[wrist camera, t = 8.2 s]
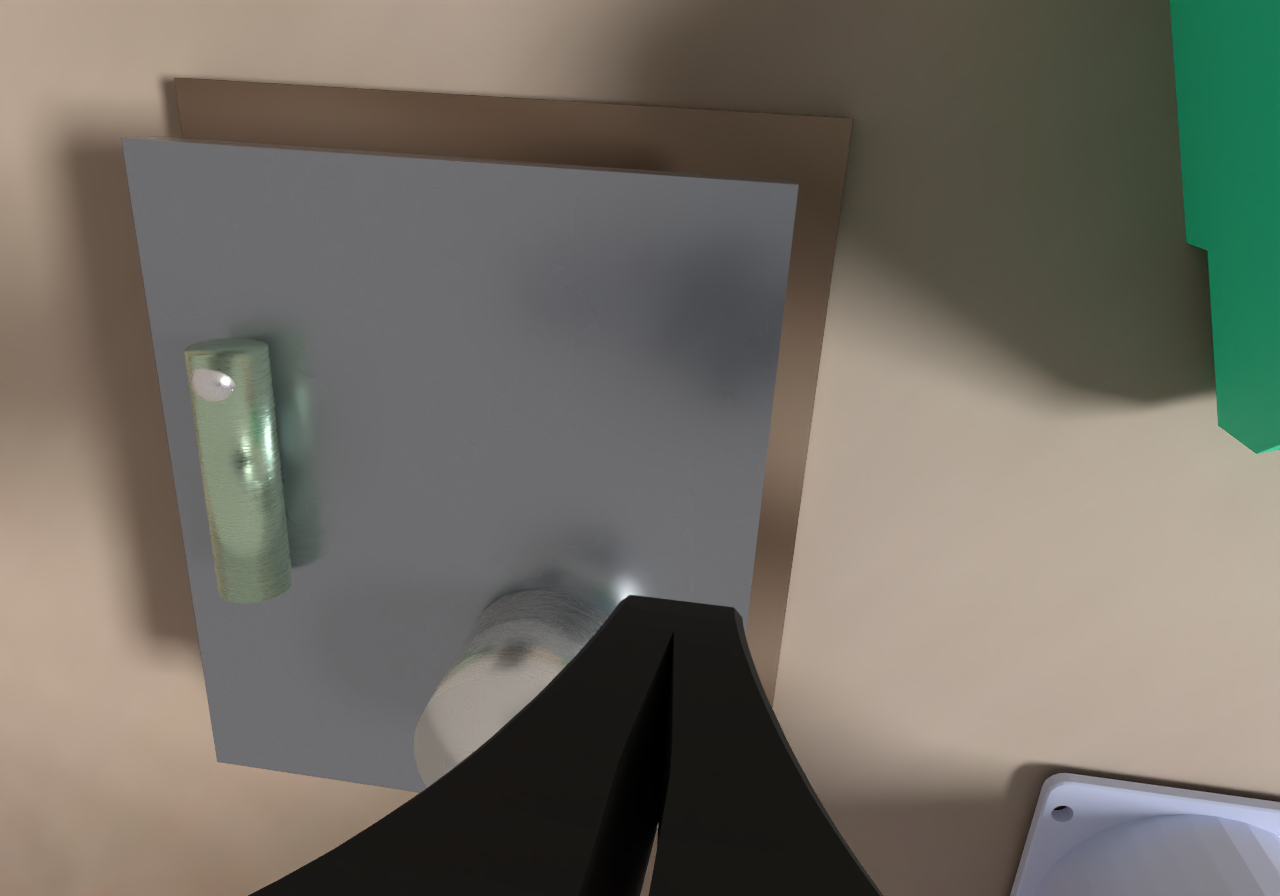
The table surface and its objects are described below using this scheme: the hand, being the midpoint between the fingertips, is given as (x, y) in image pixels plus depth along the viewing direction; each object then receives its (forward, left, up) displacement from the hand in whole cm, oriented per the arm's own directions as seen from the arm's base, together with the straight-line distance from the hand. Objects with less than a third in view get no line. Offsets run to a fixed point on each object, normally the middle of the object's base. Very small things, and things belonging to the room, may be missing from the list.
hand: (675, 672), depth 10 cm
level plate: (-2, +5, -7) cm, 9 cm away
